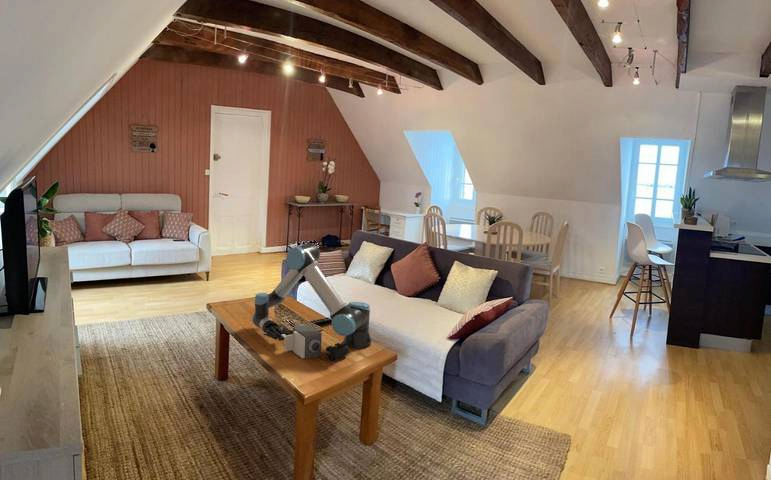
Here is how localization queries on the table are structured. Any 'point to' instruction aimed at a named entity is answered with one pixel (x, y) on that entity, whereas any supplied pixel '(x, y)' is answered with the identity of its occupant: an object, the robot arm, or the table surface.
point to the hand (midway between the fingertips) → (288, 340)
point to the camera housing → (310, 340)
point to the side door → (295, 344)
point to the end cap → (337, 351)
